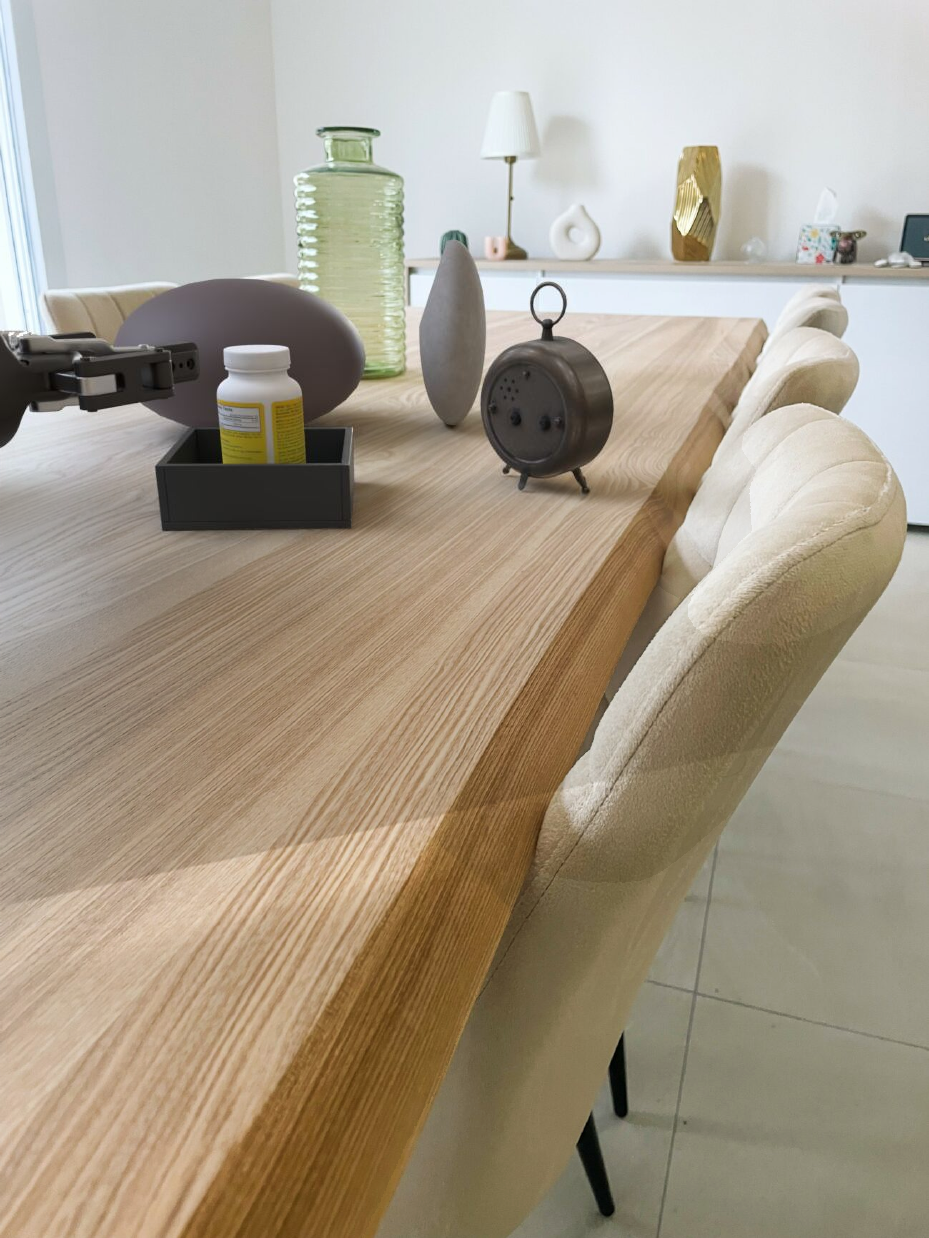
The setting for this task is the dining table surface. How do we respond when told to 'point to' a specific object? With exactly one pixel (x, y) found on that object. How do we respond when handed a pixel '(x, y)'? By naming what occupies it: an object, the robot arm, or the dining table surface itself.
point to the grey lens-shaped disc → (453, 335)
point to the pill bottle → (260, 407)
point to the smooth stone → (249, 342)
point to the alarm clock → (547, 405)
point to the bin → (257, 485)
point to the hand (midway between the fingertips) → (142, 354)
